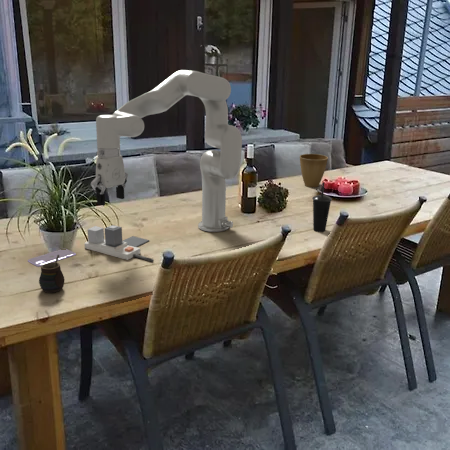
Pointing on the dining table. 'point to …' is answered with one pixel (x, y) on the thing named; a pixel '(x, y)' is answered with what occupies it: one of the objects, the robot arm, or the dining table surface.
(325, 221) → the drinking cup
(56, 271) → the mate gourd
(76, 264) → the dining table surface
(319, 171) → the plant pot
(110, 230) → the block
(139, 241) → the mat
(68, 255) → the mobile phone
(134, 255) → the power strip
